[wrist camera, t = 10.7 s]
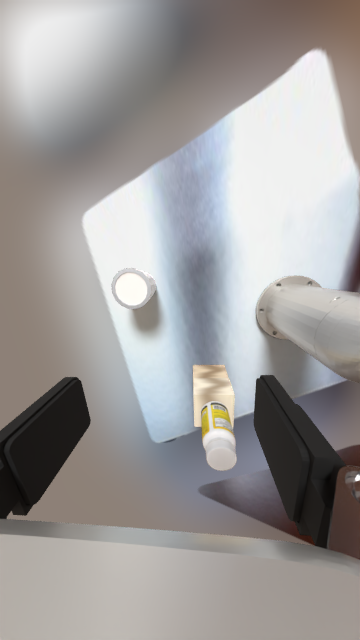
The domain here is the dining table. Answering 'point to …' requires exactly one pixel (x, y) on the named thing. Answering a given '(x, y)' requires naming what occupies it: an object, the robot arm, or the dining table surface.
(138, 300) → the white cup
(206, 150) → the dining table surface
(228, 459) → the supplement bottle
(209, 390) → the top block
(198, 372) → the bottom block
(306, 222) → the dining table surface
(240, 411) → the dining table surface
